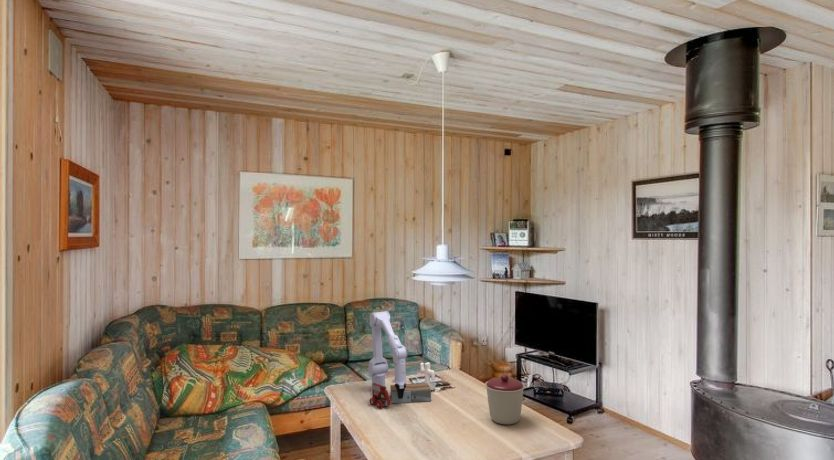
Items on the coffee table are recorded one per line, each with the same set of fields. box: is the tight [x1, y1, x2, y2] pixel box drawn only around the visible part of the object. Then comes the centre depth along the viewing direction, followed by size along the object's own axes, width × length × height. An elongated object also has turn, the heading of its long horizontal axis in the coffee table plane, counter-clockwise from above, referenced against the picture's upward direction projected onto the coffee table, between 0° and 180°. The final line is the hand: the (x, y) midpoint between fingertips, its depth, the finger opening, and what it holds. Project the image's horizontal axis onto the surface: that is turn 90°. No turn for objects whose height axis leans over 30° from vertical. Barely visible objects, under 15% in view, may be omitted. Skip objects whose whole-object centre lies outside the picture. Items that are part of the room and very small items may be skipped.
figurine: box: [419, 361, 438, 391], centre depth 256 cm, size 7×9×15 cm
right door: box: [391, 391, 412, 404], centre depth 237 cm, size 2×10×6 cm, turn 98°
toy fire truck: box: [369, 383, 392, 410], centre depth 234 cm, size 7×12×10 cm, turn 44°
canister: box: [484, 373, 526, 426], centre depth 214 cm, size 18×18×21 cm
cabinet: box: [389, 382, 432, 403], centre depth 242 cm, size 12×20×6 cm, turn 97°
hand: (400, 398), depth 235 cm, fingers closed
